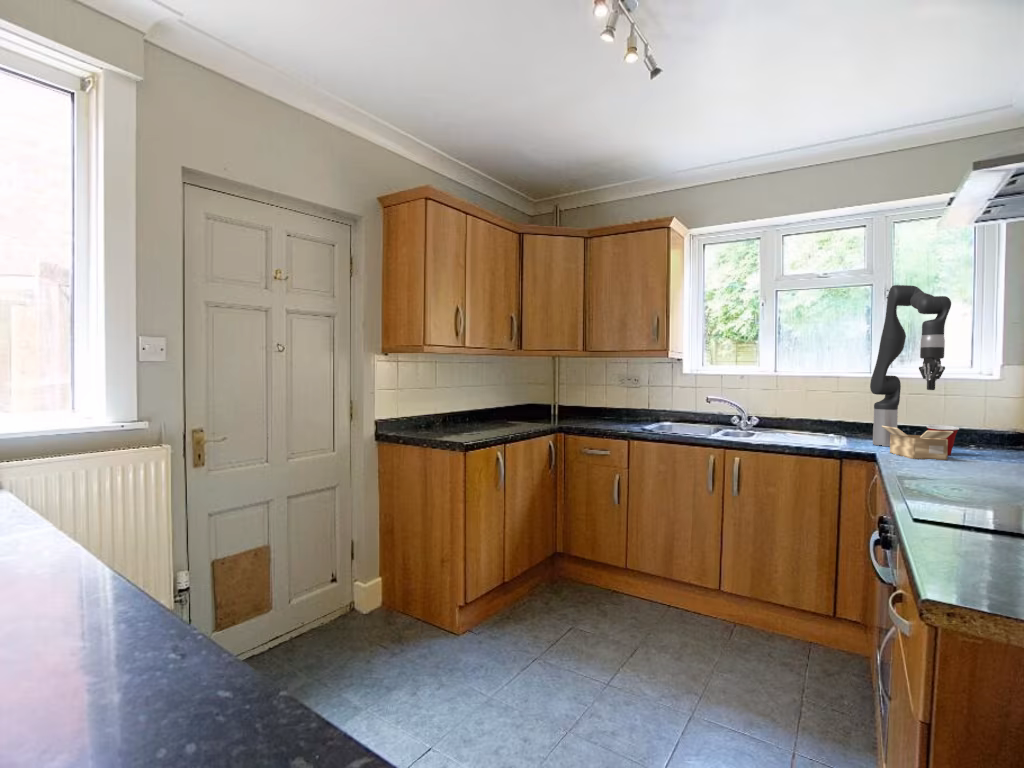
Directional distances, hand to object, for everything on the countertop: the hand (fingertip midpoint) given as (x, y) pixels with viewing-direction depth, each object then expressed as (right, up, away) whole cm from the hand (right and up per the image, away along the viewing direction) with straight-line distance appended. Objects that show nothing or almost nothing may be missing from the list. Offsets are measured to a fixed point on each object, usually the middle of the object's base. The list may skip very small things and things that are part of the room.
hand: (930, 389), depth 211 cm
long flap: (-12, -17, +4) cm, 21 cm away
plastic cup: (+13, -27, +10) cm, 32 cm away
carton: (-4, -27, +2) cm, 27 cm away
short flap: (-5, -17, -8) cm, 19 cm away
